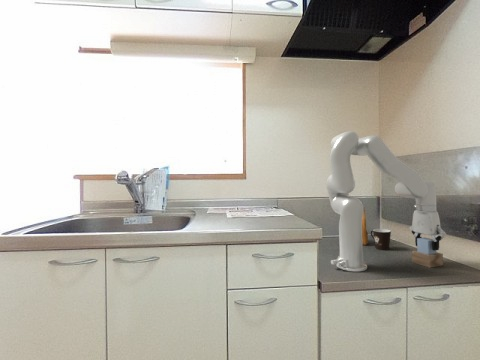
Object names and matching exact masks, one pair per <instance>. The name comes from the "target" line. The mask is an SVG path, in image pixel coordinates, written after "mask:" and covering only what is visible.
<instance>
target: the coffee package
mask: <svg viewBox="0 0 480 360" xmlns="http://www.w3.org/2000/svg"><path fill="white" fill-rule="evenodd" d="M363 208H364V211H363V218H362V244H363V246H366V245H367V244H369V242H368V241H369V240H368V238H369V237H368V235H369V233H368V231H367V220H366V210H365V206H363Z"/></svg>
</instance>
